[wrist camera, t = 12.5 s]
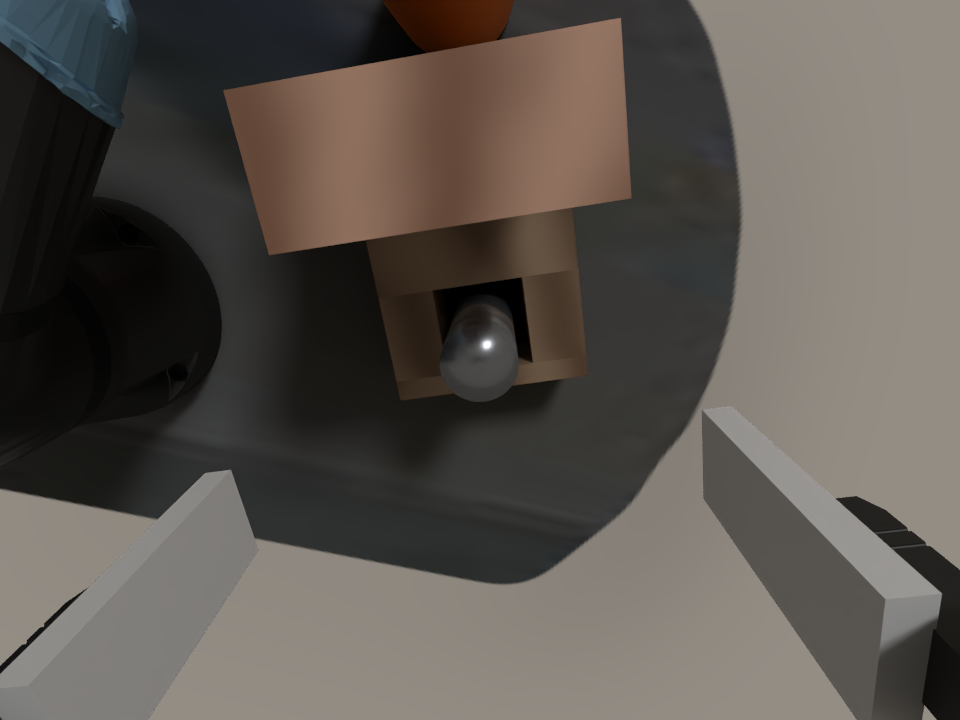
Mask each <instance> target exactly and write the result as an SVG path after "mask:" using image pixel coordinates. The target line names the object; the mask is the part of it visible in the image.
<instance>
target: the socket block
mask: <svg viewBox="0 0 960 720" xmlns="http://www.w3.org/2000/svg"><path fill="white" fill-rule="evenodd" d="M223 91H224V94H225V98H226V102H227V105H228V109H229V112H230V116H231V120H232V123H233V127H234V130H235V134H236V138H237V141H238V145H239V149H240V152H241V156H242V159H243V163H244V167H245V170H246V174H247V177H248V181H249V185H250V188H251V192H252V195H253V199H254V203H255V206H256V210H257V214H258V217H259V221H260V224H261V228H262V232H263V235H264V239H265V242H266V246H267V250H268V253H269V255H274V254H280V253H287V252H293V251H299V250H306V249H312V248H318V247H325V246H331V245H337V244H344V243H350V242H356V241H363V240H366V244H367V248H368V253H369V258H370V262H371V267H372V271H373V276H374V281H375V285H376V290H377V294H378V299H379V304H380V308H381V313H382V317H383V322H384V327H385V331H386V336H387V340H388V345H389V350H390V354H391V359H392V363H393V368H394V373H395V377H396V382H397V386H398V391H399V396H400V400H409V399H416V398H424V397H431V396H439V395H446V394H454V393H453V392H452V391H451V390H450V389H449V388H448V386H447V385H446V384H445V382H444V380H443V378H442V376H441V372H440V356H441V352H442V349H443V346H444V343H445V340H446V338H447V335H448V332H449V329H450V328H449V323H448V317H447V311H446V306H445V300H444V294H443V289H446V288H453V287H460V286H466V285H473V284H480V283H487V282H493V281H500V280H507V279H513V278H520V284H521V292H522V299H523V307H524V315H525V323H526V330H527V338H528V341H524V342H517V343H516V346H517V353H518V361H519V369H518V374H517V377H516V379H515V381H514V383H513V385H521V384H528V383H536V382H543V381H551V380H558V379H565V378H573V377H580V376H588V369H587V358H586V347H585V337H584V326H583V315H582V304H581V294H580V283H579V272H578V261H577V251H576V240H575V229H574V219H573V208H572V207H579V206H585V205H591V204H598V203H604V202H610V201H617V200H623V199H629V198H631V184H630V167H629V150H628V132H627V115H626V98H625V81H624V64H623V47H622V30H621V18H618V19H612V20H607V21H601V22H596V23H590V24H585V25H579V26H574V27H568V28H563V29H557V30H552V31H546V32H541V33H535V34H530V35H524V36H519V37H513V38H508V39H502V40H497V41H491V42H486V43H481V44H475V45H470V46H464V47H459V48H453V49H448V50H442V51H437V52H431V53H426V54H420V55H415V56H409V57H404V58H398V59H393V60H387V61H382V62H376V63H371V64H365V65H360V66H354V67H349V68H343V69H338V70H332V71H327V72H322V73H316V74H311V75H305V76H300V77H294V78H289V79H283V80H278V81H272V82H267V83H261V84H256V85H250V86H245V87H239V88H234V89H228V90H223ZM513 385H512V386H513Z"/></svg>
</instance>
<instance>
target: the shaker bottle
mask: <svg viewBox="0 0 960 720" xmlns="http://www.w3.org/2000/svg"><path fill="white" fill-rule="evenodd" d="M382 1H383V3H384V4H385V5H386V7H387V8H388V9H389V11H390V12H391V13H392V15H393V16H394V18H395V19H396V20H397V22H398V23H399V24H400V26H401V27H402V28H403V30H404V31H405V32H406V34H407V35H408V36H409V38H410V39H411V40H412V41H413V42H414V43H415V44H416V45H417V46H418V47H419V48H420V49H422V50H423V51H425V52H426V53H431V52H437V51H442V50H448V49H453V48H459V47H464V46H470V45H475V44H481V43H486V42H491V41H496V40H497V39H498V37H499V36H500V35H501V33H502V31H503V30H504V28H505V26H506V24H507V22H508V19H509V16H510V14H511V10H512V6H513V2H514V0H382Z"/></svg>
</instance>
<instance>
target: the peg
mask: <svg viewBox="0 0 960 720" xmlns="http://www.w3.org/2000/svg"><path fill="white" fill-rule="evenodd" d="M518 369H519V361H518V353H517V346H516V339H515V332H514V325H513V318H512V311H511V305H510V301H509V299H508V297H507V296H506V294H505V293H504V292H503V291H502V290H501V289H499V288H498V287H496V286H493V285H490V284H479V285H475V286H473V287H471V288H469V289H468V290H466V291H465V292H464V293H463V295H462V296H461V298H460V300H459V302H458V305H457V308H456V311H455V314H454V317H453V320H452V323H451V326H450V329H449V332H448V335H447V338H446V340H445V343H444V346H443V349H442V352H441V356H440V372H441V376H442V378H443V380H444V382H445V384H446V385H447V386H448V388H449V389H450V390H451V391H452V392H453V393H455V394H456V395H458V396H459V397H461V398H463V399H466V400H469V401H475V402H485V401H490V400H493V399H496V398H498V397H500V396H501V395H503V394H504V393H505V392H507V391H508V390H509V389H510V387H511V386H512V385H513V383H514V381H515V379H516V377H517V374H518Z"/></svg>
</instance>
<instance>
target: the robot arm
mask: <svg viewBox="0 0 960 720" xmlns="http://www.w3.org/2000/svg"><path fill="white" fill-rule="evenodd" d="M137 41H138V28H137V22H136V18H135V15H134V12H133V9H132V7H131V5H130V3H129V1H128V0H0V470H1V469H2V468H4V467H6V466H8V465H9V464H11V463H13V462H15V461H17V460H18V459H20V458H22V457H24V456H25V455H27V454H29V453H31V452H32V451H34V450H36V449H38V448H39V447H41V446H43V445H45V444H46V443H48V442H50V441H52V440H54V439H55V438H57V437H59V436H61V435H62V434H64V433H66V432H68V431H69V430H71V429H73V428H75V427H76V426H78V425H84V424H90V423H96V422H102V421H108V420H114V419H120V418H126V417H132V416H138V415H142V414H146V413H149V412H152V411H155V410H157V409H160V408H162V407H164V406H166V405H168V404H170V403H171V402H173V401H174V400H176V399H177V398H179V397H181V396H182V395H184V394H185V393H187V392H188V391H190V390H191V389H192V388H193V387H195V386H196V385H197V384H198V383H199V382H200V381H201V380H202V379H203V377H204V376H205V375H206V373H207V372H208V371H209V369H210V367H211V366H212V364H213V361H214V359H215V357H216V354H217V351H218V347H219V343H220V337H221V313H220V307H219V302H218V298H217V294H216V291H215V288H214V285H213V283H212V281H211V278H210V276H209V274H208V272H207V270H206V269H205V267H204V265H203V264H202V262H201V260H200V259H199V257H198V256H197V255H196V253H195V252H194V251H193V249H192V248H191V247H190V246H189V245H188V244H187V242H186V241H185V240H184V239H183V238H182V237H181V236H180V235H179V234H178V233H176V232H175V231H174V230H173V229H172V228H171V227H169V226H168V225H167V224H166V223H164V222H163V221H161V220H160V219H158V218H157V217H155V216H153V215H152V214H150V213H148V212H146V211H144V210H142V209H140V208H138V207H136V206H133V205H131V204H128V203H125V202H122V201H118V200H114V199H109V198H101V197H92V196H93V193H94V190H95V187H96V184H97V180H98V177H99V174H100V171H101V168H102V165H103V162H104V160H105V157H106V154H107V151H108V148H109V145H110V142H111V140H112V137H113V134H114V131H115V128H118V129H120V127H121V125H122V124H123V120H124V116H123V114H122V112H121V107H122V103H123V99H124V95H125V91H126V87H127V82H128V78H129V74H130V70H131V66H132V62H133V58H134V54H135V50H136V46H137ZM702 437H703V489H704V492H703V493H704V500H705V501H706V503H707V504H708V506H709V507H710V508H711V510H712V511H713V513H714V514H715V516H716V517H717V518H718V520H719V521H720V523H721V524H722V526H723V527H724V529H725V530H726V532H727V533H728V534H729V536H730V537H731V539H732V540H733V542H734V543H735V545H736V546H737V547H738V549H739V550H740V552H741V553H742V555H743V556H744V558H745V559H746V560H747V562H748V563H749V565H750V566H751V568H752V569H753V570H754V572H755V573H756V575H757V576H758V578H759V579H760V581H761V582H762V583H763V585H764V586H765V588H766V589H767V591H768V592H769V593H770V595H771V596H772V598H773V599H774V601H775V602H776V604H777V605H778V607H779V608H780V609H781V611H782V612H783V614H784V615H785V617H786V618H787V620H788V621H789V622H790V624H791V625H792V627H793V628H794V630H795V631H796V633H797V634H798V635H799V637H800V638H801V640H802V641H803V643H804V644H805V645H806V647H807V648H808V650H809V651H810V653H811V654H812V656H813V657H814V659H815V660H816V661H817V663H818V664H819V666H820V667H821V669H822V670H823V671H824V673H825V674H826V676H827V677H828V679H829V680H830V682H831V683H832V685H833V686H834V687H835V689H836V690H837V692H838V693H839V695H840V696H841V697H842V699H843V700H844V702H845V703H846V705H847V706H848V708H849V709H850V710H851V712H852V713H853V715H854V716H855V718H856V719H857V720H922V715H923V710H924V705H925V706H926V707H927V708H928V710H929V711H930V712H931V713H932V714H933V716H934V717H935V718H936V719H937V720H960V570H959V569H958V568H957V567H955V566H954V565H953V564H952V563H950V562H949V561H948V560H947V559H945V558H944V557H943V556H942V555H941V554H939V553H938V552H937V551H935V550H934V549H933V548H932V547H931V546H926V543H925V542H924V541H923V540H922V539H921V538H919V537H918V536H917V535H916V534H914V533H913V532H912V531H908V530H907V527H906V526H904V525H903V524H902V523H901V522H900V521H898V520H897V519H896V518H894V517H893V516H892V515H891V514H890V513H888V512H887V511H886V510H884V509H882V508H880V507H878V506H876V505H874V504H871V503H870V502H867V501H865V500H863V499H861V498H859V497H857V496H854V497H845V498H836V499H835V498H834V497H833V496H832V495H831V494H830V493H828V492H827V491H826V490H825V489H824V488H823V487H821V485H819V484H818V483H817V482H816V481H815V480H814V479H813V478H812V477H810V476H809V475H808V474H807V473H806V472H805V471H804V470H803V469H802V468H800V467H799V466H798V465H797V464H796V463H795V462H794V461H793V460H791V459H790V458H789V457H788V456H787V455H786V454H785V453H784V452H782V451H781V450H780V449H779V448H778V447H777V446H776V445H774V444H773V443H772V442H771V441H770V440H769V439H768V438H767V437H766V436H764V435H763V434H762V433H761V432H760V431H759V430H758V429H756V428H755V427H754V426H753V425H752V424H751V423H750V422H749V421H748V420H746V419H745V418H744V417H743V416H742V415H741V414H739V412H737V411H736V410H735V409H734V408H733V407H732V406H728V407H720V408H712V409H704V410H702ZM257 552H258V547H257V545H256V542H255V539H254V536H253V533H252V530H251V527H250V524H249V521H248V518H247V516H246V513H245V510H244V507H243V504H242V501H241V498H240V495H239V492H238V489H237V486H236V484H235V481H234V478H233V475H232V472H231V470H226V471H218V472H211V473H205V474H204V475H203V476H202V477H201V478H200V479H199V480H198V481H197V482H196V483H195V484H194V485H193V486H191V487H190V488H189V489H188V490H187V491H186V492H185V493H184V494H183V495H182V496H181V497H180V498H179V499H178V500H177V501H176V502H175V503H174V504H173V505H172V506H171V507H170V508H169V509H168V510H167V511H166V512H165V513H164V514H163V515H162V516H161V517H160V518H159V519H158V520H157V521H156V522H155V523H154V524H153V525H152V526H151V527H150V528H149V529H148V530H147V531H146V532H145V533H144V534H143V535H142V536H140V538H139V539H137V540H136V541H135V542H134V543H133V544H132V545H131V546H130V547H129V548H128V549H127V550H126V551H125V552H124V553H123V554H122V555H121V556H120V557H119V558H118V559H117V560H116V561H115V562H114V563H113V564H112V565H111V566H110V567H109V568H108V569H107V570H106V571H105V572H104V573H103V574H102V575H101V576H100V577H99V578H98V579H97V580H96V581H95V582H94V583H93V584H92V585H91V586H89V587H88V588H87V589H85V590H84V591H82V592H81V593H79V594H78V595H77V596H75V597H74V598H72V599H71V600H69V601H68V602H66V603H65V604H64V605H63V606H62V607H61V608H60V609H59V610H58V611H57V612H56V613H55V614H54V615H53V616H52V617H51V618H50V619H49V620H48V621H46V622H45V623H44V627H41V628H39V629H38V630H37V631H36V632H35V633H34V634H33V635H32V636H31V637H30V638H29V639H28V640H27V643H26V644H24V645H22V646H21V647H19V648H18V649H17V650H16V651H15V652H14V653H13V654H12V655H11V656H10V657H9V658H8V659H7V660H6V661H5V662H4V663H3V664H2V665H1V666H0V720H148V719H149V717H150V716H151V714H152V713H153V711H154V710H155V708H156V707H157V705H158V703H159V702H160V700H161V699H162V697H163V696H164V694H165V693H166V691H167V689H168V688H169V687H170V685H171V684H172V682H173V680H174V679H175V677H176V676H177V674H178V673H179V671H180V670H181V668H182V667H183V665H184V664H185V662H186V660H187V659H188V657H189V656H190V654H191V653H192V651H193V650H194V648H195V647H196V645H197V644H198V642H199V641H200V639H201V638H202V636H203V634H204V633H205V631H206V630H207V628H208V626H209V625H210V624H211V622H212V621H213V619H214V618H215V616H216V615H217V613H218V611H219V610H220V608H221V607H222V605H223V604H224V602H225V601H226V599H227V597H228V596H229V595H230V593H231V591H232V590H233V588H234V587H235V585H236V584H237V582H238V581H239V579H240V578H241V576H242V575H243V573H244V572H245V570H246V568H247V567H248V565H249V564H250V562H251V561H252V559H253V558H254V556H255V555H256V553H257Z"/></svg>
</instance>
